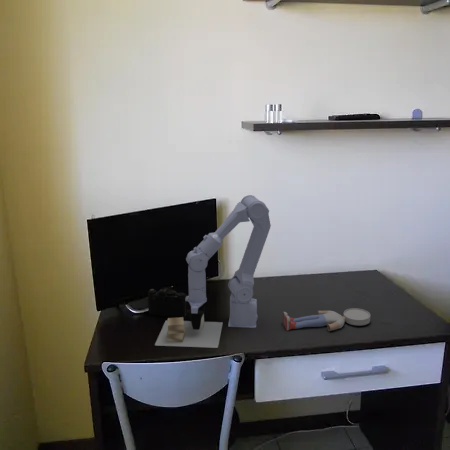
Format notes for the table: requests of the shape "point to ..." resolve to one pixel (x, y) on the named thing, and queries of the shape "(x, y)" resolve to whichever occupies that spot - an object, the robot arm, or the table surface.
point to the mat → (194, 335)
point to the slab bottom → (176, 337)
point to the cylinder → (202, 323)
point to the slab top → (175, 325)
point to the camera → (166, 303)
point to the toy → (328, 319)
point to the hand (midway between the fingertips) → (198, 323)
